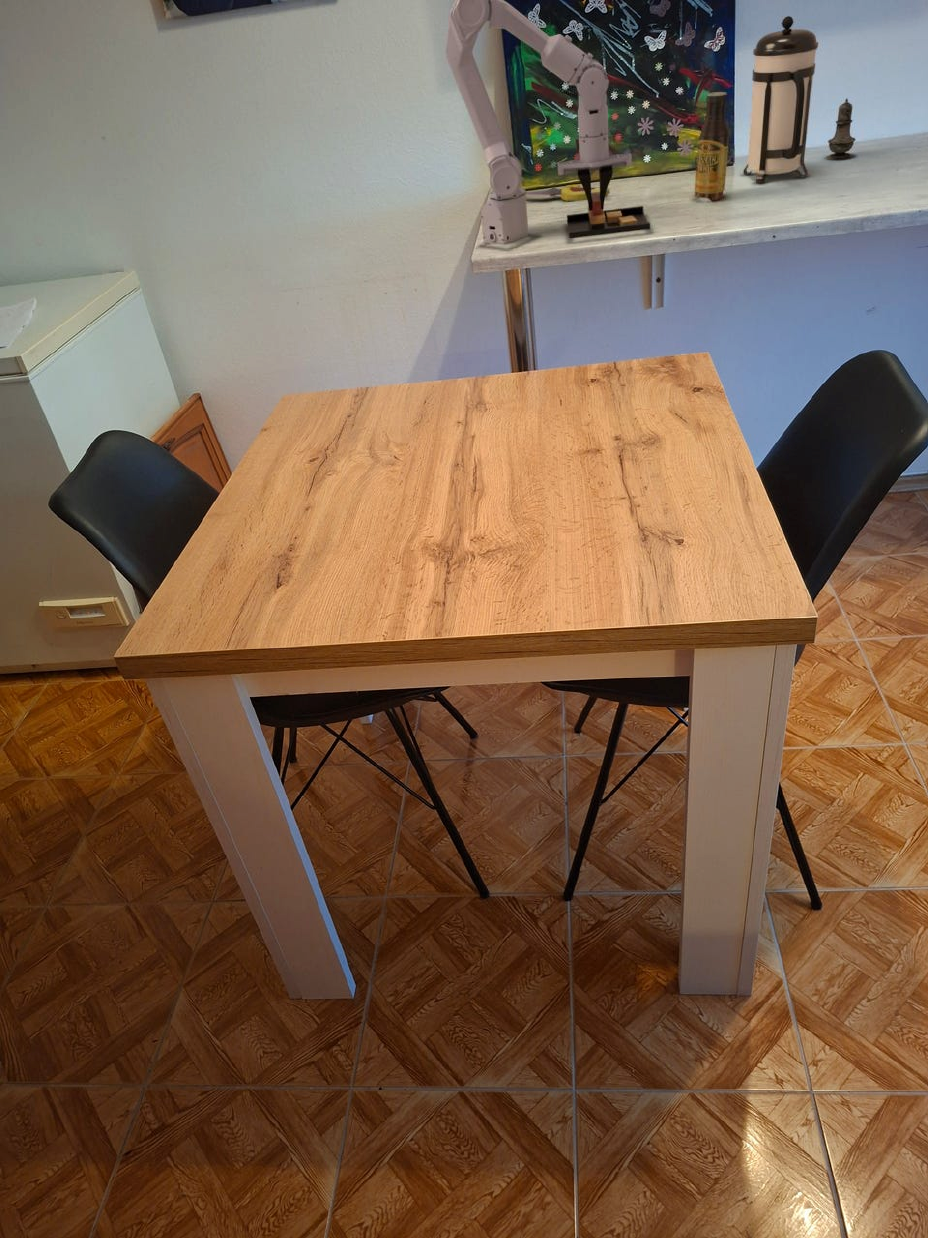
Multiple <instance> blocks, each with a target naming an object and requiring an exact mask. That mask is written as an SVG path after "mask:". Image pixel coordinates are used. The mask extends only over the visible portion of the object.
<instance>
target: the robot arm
mask: <svg viewBox="0 0 928 1238" xmlns="http://www.w3.org/2000/svg"><path fill="white" fill-rule="evenodd" d="M448 19H449V20H448V30H447V36H446V45H445V57H446V60H447V62H448V66H449V68H450V71H451V72H452V75H453V78H454V80H455V82H456V85H457V87H458V90H459V93H460V95H461V98H462V100H463V103H464V105H465V107H466V110H467V112H468V115H469V117H470V120H471V123H472V126H473V127H474V130H475V133H476V135H477V138H478V140H479V143H480V145H481V148H482V150H483V154H484V159H485V161H486V165H487V167H488V170H489V185H490V188H491V190H492V191H490V193H489V197H490V198H489V200H488V201H487V202H486V203H485V204H484V205H483V206H482V207H481V211H480V220H481V232H482V238H483V239H482V240H483V241H482V242H481V243H480V245H481V246H482V247H483V246H484V247H485V246H486V243H488V244H495V245H502V246H503V245H504V246H505V245H508V244H510V243H512V242H515V241H518V240H521V239H524V238H526V237H528V236H529V234H530V233H529V222H528V221H529V220H528V209H527V197H526V194H525V192H526V189H525V188H524V187H523V186H522V183H523V182H522V181H523V179H522V174H523V166H522V163H521V161H520V160H519V158H518V157H516V156H515V154H513V152H512V150H511V148H510V146H509V143H508V142H507V140H506V138H505V135H504V133H503V129H502V128H501V125H500V122H499V120H498V117H497V115H496V112H495V109H494V107H493V104H492V101H491V99H490V97H489V93H488V91H487V88H486V86H485V83H484V81H483V77H482V76H481V73H480V70H479V68H478V65H477V62H476V59H475V57H474V55H473V54H474V53H473V51H474V48H475V44H476V42H477V39H478V35H479V33H480V32H481V30H482V29H483V27H484V26H485V25H486V23H487V22H489V23H488V29H493V30H494V29H495V30H496V29H497V30H498V29H499V30H500V29H502V30H506V31H507V32H508V33H510V34H511V35H513V36H514V37H516V38H517V39H518V40H520V41H521V42H523V43H524V44H526V45H527V46H529V47H530V48H532V49H533V50H534V51H536V52H538V54H540V59H541V65H542V66H543V67H544V68H546V69H547V70H548V71H549V72H551V73H552V74H554V75H555V76H556V77H557V78H559V79H560V80H562V81H563V82H564V83H566V84H567V85H568V86H575V88H576V90H577V93H578V108H577V124H578V148H579V150H578V151H579V158H577V159H572V160H567V161H561V162H557V175H558V176H564V175H567V174H574V173H577V177H578V180H579V182H580V185H581V187H582V188H583V189H584V191H585V194H586V197H587V200H586V201H587V208H588V207H589V211H592V197H591V188H592V176H591V171H597V170H598V177H599V187H600V200H601V209H603V210H604V209H605V199H606V196H605V195H606V191H607V188H609V185H610V182H611V180H612V177H613V174H614V169H613V168H623V167H632V166H633V156H632V153H621V154H620V153H619V154H610V153H609V152H610V149H609V147H610V146H609V143H610V142H609V106H608V105H607V102H608V94H607V90H608V88H609V84H610V80H609V78H608V72H607V71H606V70H605V68H604V66H603V65H602V64H601V63H600V61H599V60H597V59H593V57H594V55H593V54H592V53H590V52H587V53H586V52H584V51H583V50H582V49H581V48H579V47H578V46H576V45H575V44H574V43H573V42H572V41H573V38H572V37H571V36H569V35H568V34H566V35H565V36H564V35H562V34H561V33H558V34H555V35H551V36H549V35H548V34H547V33H546V32H544V31H543V30H542V29H541V28H540V27H538V26H537V25H536V24H535V23H534V22H532V21H531V20H530V19H528V17H526V16H525V15H524V14H522V13H521V12H520V11H519V10H518V9H516V8H515V7H514V6H513V5H511V4H510V3H508V2H507V1H506V0H455V1H454V3H453V6H452V8H451V10H450V11H449V18H448Z"/></svg>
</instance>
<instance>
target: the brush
mask: <svg viewBox="0 0 928 1238" xmlns="http://www.w3.org/2000/svg"><path fill="white" fill-rule="evenodd" d="M591 197H592V211H589V207H588V206H587V213H588V215H589V221H590V226H591V229H598V228H605V227H604V223H605V214H604V211H605V210H604V209H601V200H600V196H599V193H593V194H591Z"/></svg>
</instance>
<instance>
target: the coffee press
mask: <svg viewBox="0 0 928 1238" xmlns="http://www.w3.org/2000/svg"><path fill="white" fill-rule="evenodd" d="M793 24H794V19H793V18H792V16H790V15H787V16H786V17H785V16H784V18H783V19H782V21H781V26H782V28H783V29H782V30H779V31H774V32H770V33H768V34H765V35H764V36H762V37H761V38H760V39H758V41H757V43H756V45H755V48H753V51H752V54H753V57H754V67H753V69H752V79H751V80H752V93H751V95H752V96H751V112H750V125H749V138H748V139H749V140H748V141H749V142H748V154H747V155H748V156H747V157H748V158H747V165H746V166H745V167H744V169H743V171H742V173H743V175H744V176H749V175H750V174H752V173H754V174H757V175H756V178H755V183H756V184H762V185H763V184H764V183H765V181H766V179H767V177H768V176H769V175H779V174H780V175H781V174H787V173H795V174H796V175H797V176H798V177H799V178H800V179H803V178H805V177H807V176H808V174H809V170H808V168H807V166H806V164H805V155H806V149H807V139H808V130H809V129H808V128H809V119H810V118H809V117H810V110H811V100H812V88H813V79H814V75H815V72H816V71H815V70H816V62H815V60H816V51H817V50H818V47H819V42H818V41H817V37H816V35H815V33H814V32H812V31H811V30H808V29H801V28H800V29H798V28H797V29H796V28H795V29H792V28H791V27H793ZM800 168H801V169H802V171H803V173H804V175H803V173H802V172H801V171H800V170H799V169H800ZM748 170H750V171H749V172H748Z"/></svg>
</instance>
